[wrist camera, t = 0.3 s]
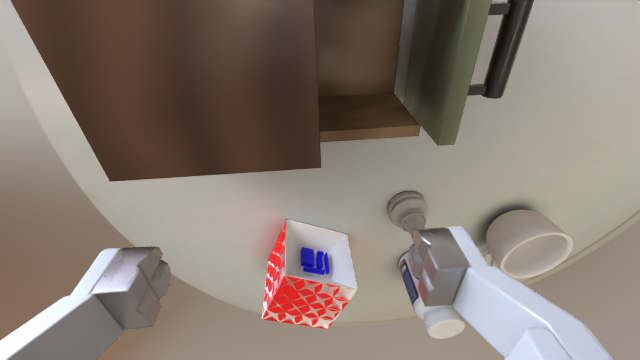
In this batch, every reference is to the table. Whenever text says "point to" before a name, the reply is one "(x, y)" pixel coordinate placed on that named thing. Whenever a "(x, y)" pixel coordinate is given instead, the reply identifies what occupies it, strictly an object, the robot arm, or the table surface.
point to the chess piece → (408, 211)
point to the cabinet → (185, 82)
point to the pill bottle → (430, 307)
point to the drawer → (424, 65)
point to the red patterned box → (308, 276)
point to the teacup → (526, 244)
